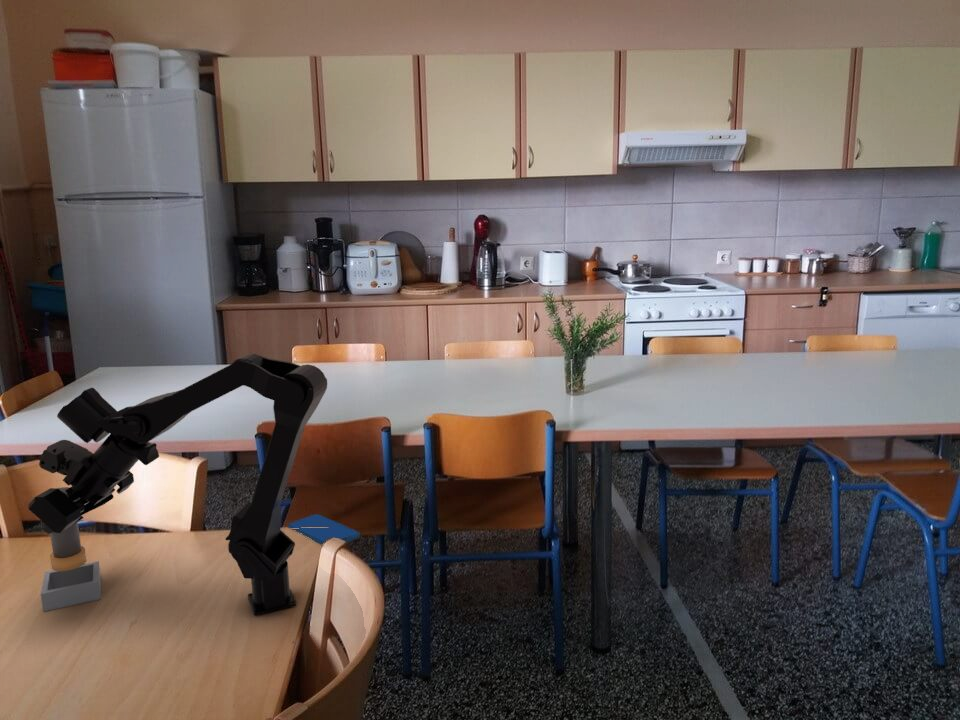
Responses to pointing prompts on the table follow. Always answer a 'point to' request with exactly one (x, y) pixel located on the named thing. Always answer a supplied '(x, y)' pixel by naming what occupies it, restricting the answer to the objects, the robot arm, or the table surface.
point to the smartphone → (323, 529)
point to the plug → (67, 548)
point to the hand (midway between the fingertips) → (55, 525)
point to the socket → (71, 586)
